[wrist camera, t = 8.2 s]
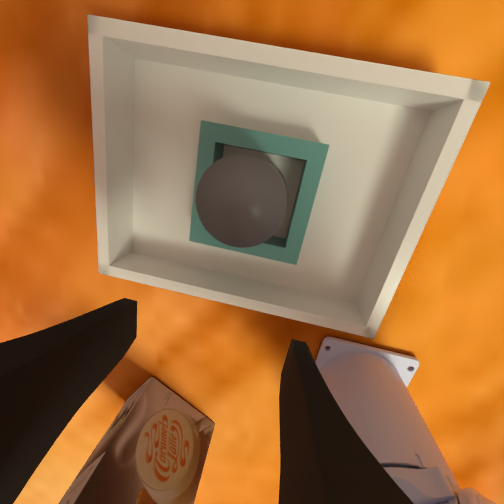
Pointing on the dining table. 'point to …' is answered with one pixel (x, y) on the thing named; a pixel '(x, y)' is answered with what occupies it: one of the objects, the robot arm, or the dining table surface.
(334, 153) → the walled box
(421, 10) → the dining table surface
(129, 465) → the coffee box
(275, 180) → the cylinder
